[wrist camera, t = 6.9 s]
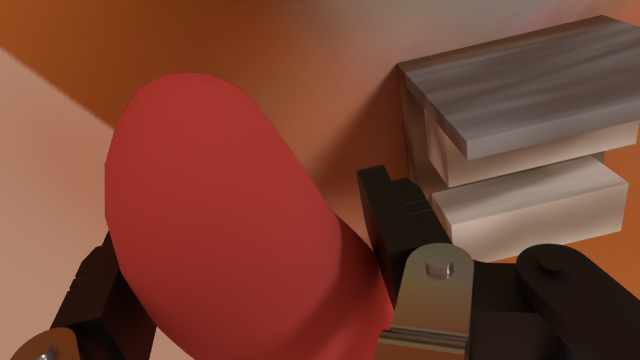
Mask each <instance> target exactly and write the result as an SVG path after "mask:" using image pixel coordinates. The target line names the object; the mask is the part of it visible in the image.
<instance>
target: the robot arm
mask: <svg viewBox="0 0 640 360" xmlns="http://www.w3.org/2000/svg"><path fill="white" fill-rule="evenodd" d="M357 178H358V184H359V190H360V196H361V202H362V208H363V213H364V219H365V224H366V228H367V232H368V235H369V239H370V242H371V245H372V248H373V251H374V254H375V257H376V259H377V262H378V266H379V269H380V271H381V274H382V277H383V280H384V283H385V286H386V289H387V292H388V295H389V298H390V301H391V304H392V307H393V310H394V315H393V319H392V323H391V327H390V330H385V329H384V330H382V332H381V334H380V336H379V339H378V342H377V346H376V350H375V354H374V358H373V360H640V300H639V299H638V298H636V297H635V296H634V295H633V294H631V293H630V292H629V291H628V290H627V289H625V288H624V287H623V286H622V285H620V284H619V283H618V282H617V281H616V280H614V279H613V278H612V277H611V276H609V275H608V274H607V273H606V272H605V271H603V270H602V269H601V268H600V267H598V266H597V265H596V264H595V263H594V262H592V261H591V260H590V259H589V258H587V257H586V256H585V255H584V254H582V253H581V252H579V251H577V250H575V249H573V248H570V247H568V246H564V245H559V244H550V243H548V244H537V245H534V246H531V247H528V248H526V249H525V250H523V251H522V252H521V253H520V254H519V256H518V257H517V261H516V263H486V262H481V261H477V260H474V259H472V258H471V256H470V255H469V254H468V252H466V251H465V250H464V249H462V248H460V247H458V246H455V245H453V243H452V242H451V240H450V238H449V236H448V235H447V233H446V231H445V229H444V228H443V226H442V224H441V223H440V221H439V219H438V217H437V216H436V214H435V212H434V210H432V207H431V205H430V203H429V202H428V200H427V199H426V196H425V195H424V193H423V191H422V189H421V188H420V186H418V185H417V184H415V183H414V182H412V181H410V180H409V179H407V178H404V179H399V180H395V181H391V179H390V177H389V175H388V173H387V171H386V169H385V167H384V165H379V166H374V167H370V168H365V169H361V170H357ZM75 277H76V279H74V280H73V282H72V284H71V286H70V291H68V292H67V294H66V296H65V298H64V300H63V302H62V305H61V306H60V309H59V311H58V313H57V315H56V317H55V319H54V321H53V323H52V325H51V327H50V329H49V330H47V331H44V332H42V333H40V334H38V335H36V336H34V337H33V338H32V339H30V340H28V341H27V342H26V343H25V344H23V345H22V347H20V348H19V349H18V350H17V351H16V352H15V354H14V355H13V357H12V358H11V359H10V360H149V358H150V353H151V348H152V345H153V340H154V336H155V332H156V327H157V326H156V325H155V323H154V322H153V321H152V320H151V319H150V317H149V316H148V314H147V312H146V311H145V309H144V308H143V306H142V305H141V303H140V301H139V300H138V298H137V297H136V295H135V294H134V292H133V290H132V289H131V287H130V286H129V284H128V283H127V281H126V279H125V278H124V276H123V275H122V273H121V270H120V267H119V264H118V260H117V257H116V253H115V250H114V246H113V243H112V239H111V236H110V232H109V231H108V233H107V235H106V238H105V239H104V242H103V244H102V246H98V247H95V249H94V250H93V251H92V252H91V253H90V254H89V255H88V256H87V257H86V258H85V259H84V260H83V261H82V263H81V265H80V267H79V269H78V271H77V273H76V276H75Z"/></svg>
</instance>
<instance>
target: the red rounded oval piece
mask: <svg viewBox="0 0 640 360" xmlns="http://www.w3.org/2000/svg"><path fill="white" fill-rule="evenodd" d="M105 218H106V222H107V225H108V229H109V232H110V236H111V239H112V243H113V246H114V250H115V253H116V257H117V260H118V264H119V267H120V270H121V273H122V275H123V276H124V278H125V279H126V281H127V283H128V284H129V286H130V287H131V289H132V290H133V292H134V294H135V295H136V297H137V298H138V300H139V301H140V303H141V305H142V306H143V308H144V309H145V311H146V312H147V314H148V316H149V317H150V319H151V320H152V321H153V322H154V323H155V325H156V326H158V328H159V329H160V330H161V331H162V332H163V333H165V335H166V336H168V337H169V338H170V339H171V340H172V341H173V342H174V343H175V344H176V345H177V346H179V347H180V348H181V349H182V350H183V351H185V352H186V353H187V354H188V355H189V356H191V357H192V358H193V359H195V360H373V358H374V354H375V350H376V346H377V342H378V339H379V336H380V334H381V332H382V330H384V329H385V330H390V327H391V323H392V319H393V315H394V310H393V307H392V304H391V301H390V298H389V295H388V292H387V289H386V286H385V283H384V280H383V277H382V274H381V271H380V269H379V266H378V262H377V259H376V257H375V254H374V252H373V251H372V250H371V248H370V247H369V246H368V245H367V244H366V243H365V242H364V241H363V240H362V238H361V237H360V236H359V235H358V234H357V233H356V232H355V231H354V230H353V229H351V228H350V227H349V226H348V225H347V224H346V223H345V222H344V221H343V220H342V219H341V218H339V217H338V216H337V215H336V214H335V213H334V212H333V211H332V209H331V208H330V207H329V206H328V204H327V203H326V202H325V200H324V199H323V197H322V196H321V194H320V192H319V191H318V189H317V188H316V186H315V185H314V183H313V181H312V180H311V178H310V177H309V175H308V174H307V172H306V171H305V169H304V168H303V167H302V165H301V164H300V162H299V161H298V159H297V158H296V156H295V155H294V153H293V152H292V150H291V149H290V147H289V146H288V145H287V143H286V142H285V140H284V139H283V138H282V136H281V135H280V134H279V132H278V131H277V130H276V128H275V127H274V125H273V124H272V123H271V122H270V120H269V119H268V118H267V117H266V115H265V114H264V113H263V112H262V111H261V109H260V108H259V107H258V106H257V104H256V103H255V102H254V101H252V100H251V99H250V98H249V97H248V96H247V95H246V94H244V93H243V92H242V91H241V90H240V89H239V88H237V87H236V86H234V85H233V84H230V83H228V82H226V81H224V80H221V79H219V78H217V77H214V76H211V75H208V74H203V73H176V74H168V75H164V76H162V77H160V78H158V79H156V80H154V81H152V82H150V83H148V84H146V85H144V86H141V87H140V88H139V89H138V90H137V92H136V93H135V95H134V96H133V98H132V99H131V101H130V102H129V104H128V105H127V107H126V108H125V110H124V111H123V113H122V114H121V116H120V117H119V119H118V121H117V124H116V127H115V131H114V134H113V138H112V141H111V145H110V149H109V152H108V156H107V159H106V163H105Z"/></svg>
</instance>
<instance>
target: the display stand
mask: <svg viewBox="0 0 640 360" xmlns="http://www.w3.org/2000/svg"><path fill="white" fill-rule="evenodd" d="M397 71H398V79H399V88H400V96H401V105H402V114H403V122H404V131H405V139H406V148H407V156H408V165H409V173H410V181H412V182H414V183H415V184H417V185H418V186H420V188H421V189H422V191H423V193H424V195H425V196H426V199H427V200H428V202H429V203H430V205H431V207H432V210H434V212H435V214H436V216H437V217H438V219H439V221H440V223H441V224H442V226H443V228H444V229H445V231H446V233H447V235H448V236H449V238H450V240H451V242H452V243H453V245H455V246H458V247H460V248H462V249H464V250H465V251H466V252H468V254H469V255H470V256H471V258H472V259H474V260H477V261H481V262H486V263H487V262H491V261H495V260H500V259H504V258H508V257H512V256H516V255H519V254H520V253H521V252H522V251H523V250H525V249H526V248H528V247H531V246H534V245H537V244H548V243H550V244H559V245H563V244H567V243H571V242H576V241H580V240H584V239H588V238H592V237H597V236H601V235H605V234H609V233H614V232H618V231H621V227H622V221H623V215H624V209H625V203H626V197H627V191H628V186H629V183H628V182H626V181H625V180H624V179H622V178H621V177H620V176H618V175H617V174H616V173H614V172H613V171H611V170H610V169H609V168H607V167H606V166H605V165H603V162H604V155H605V151H606V150H610V149H614V148H619V147H623V146H627V145H631V144H636V139H637V133H638V127H639V121H640V27H638V26H635V25H632V24H629V23H626V22H622V21H619V20H616V19H613V18H610V17H607V16H603V15H600V16H596V17H592V18H588V19H583V20H579V21H575V22H571V23H566V24H562V25H558V26H554V27H549V28H545V29H541V30H537V31H532V32H528V33H524V34H520V35H515V36H511V37H507V38H503V39H498V40H494V41H490V42H486V43H481V44H477V45H473V46H469V47H465V48H460V49H456V50H452V51H448V52H443V53H439V54H435V55H431V56H426V57H422V58H418V59H414V60H409V61H405V62H401V63H397Z"/></svg>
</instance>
